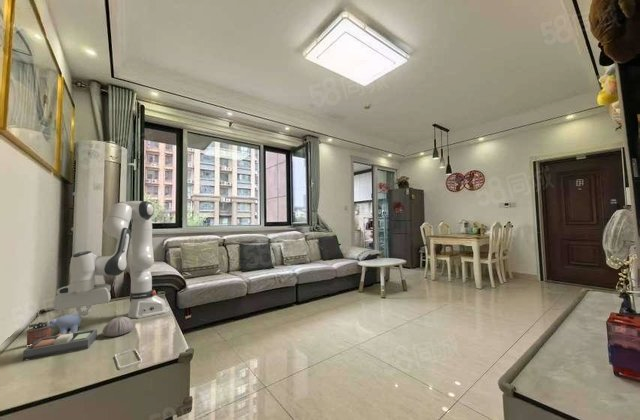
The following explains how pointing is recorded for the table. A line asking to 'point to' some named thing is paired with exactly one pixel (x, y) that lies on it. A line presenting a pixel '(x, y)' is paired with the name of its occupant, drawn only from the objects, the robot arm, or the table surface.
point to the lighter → (38, 332)
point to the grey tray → (60, 346)
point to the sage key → (81, 336)
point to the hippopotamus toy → (67, 323)
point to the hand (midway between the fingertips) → (83, 315)
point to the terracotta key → (44, 343)
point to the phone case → (128, 364)
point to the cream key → (63, 338)
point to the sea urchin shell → (118, 326)
